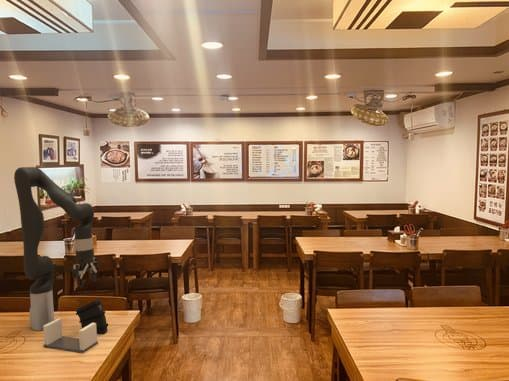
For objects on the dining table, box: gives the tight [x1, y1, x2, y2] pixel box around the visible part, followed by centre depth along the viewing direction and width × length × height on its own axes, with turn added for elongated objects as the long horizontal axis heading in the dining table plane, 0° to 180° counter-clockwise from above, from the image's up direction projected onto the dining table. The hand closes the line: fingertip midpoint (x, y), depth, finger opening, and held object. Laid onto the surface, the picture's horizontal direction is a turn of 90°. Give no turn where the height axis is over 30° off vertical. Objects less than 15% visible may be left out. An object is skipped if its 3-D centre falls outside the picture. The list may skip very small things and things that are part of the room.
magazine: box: [75, 299, 109, 335], centre depth 176 cm, size 4×13×15 cm, turn 82°
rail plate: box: [42, 335, 99, 354], centre depth 164 cm, size 20×9×1 cm, turn 73°
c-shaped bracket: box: [42, 318, 98, 350], centre depth 164 cm, size 20×8×8 cm, turn 73°
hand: (87, 283), depth 175 cm, fingers open, 8 cm apart
